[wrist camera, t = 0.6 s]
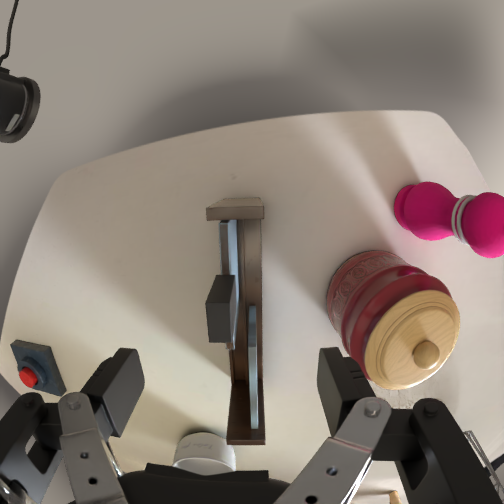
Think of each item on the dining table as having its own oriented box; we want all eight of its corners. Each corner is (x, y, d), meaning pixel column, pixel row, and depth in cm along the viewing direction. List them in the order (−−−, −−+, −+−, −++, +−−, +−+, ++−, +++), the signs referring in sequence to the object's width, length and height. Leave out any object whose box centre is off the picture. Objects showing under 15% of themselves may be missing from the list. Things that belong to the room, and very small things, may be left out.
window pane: (225, 211, 34) (200, 236, 18) (239, 210, 34) (226, 236, 18) (230, 303, 37) (214, 390, 20) (242, 303, 37) (235, 390, 20)
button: (21, 365, 38) (16, 369, 37) (33, 368, 38) (28, 373, 36) (28, 380, 39) (23, 385, 37) (40, 384, 39) (35, 389, 37)
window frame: (223, 198, 35) (206, 207, 22) (259, 197, 35) (263, 206, 22) (233, 378, 41) (226, 445, 28) (262, 378, 41) (265, 445, 28)
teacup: (212, 416, 43) (206, 451, 36) (249, 448, 45) (249, 481, 37) (156, 438, 45) (146, 468, 37) (193, 467, 47) (188, 496, 39)
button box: (16, 339, 41) (4, 348, 37) (50, 346, 41) (38, 357, 37) (32, 381, 43) (22, 391, 39) (66, 390, 43) (57, 402, 39)
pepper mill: (401, 171, 34) (511, 172, 15) (439, 195, 35) (546, 213, 16) (382, 221, 36) (484, 258, 16) (421, 241, 37) (523, 287, 17)
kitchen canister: (334, 347, 40) (374, 434, 23) (313, 266, 37) (358, 331, 20) (412, 316, 39) (478, 380, 22) (401, 235, 36) (486, 272, 19)
